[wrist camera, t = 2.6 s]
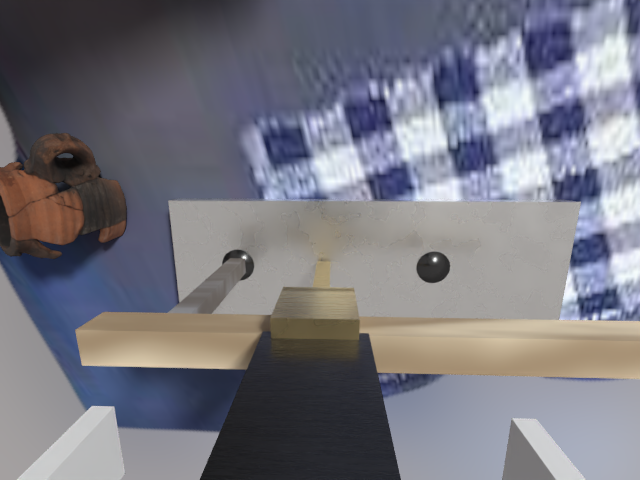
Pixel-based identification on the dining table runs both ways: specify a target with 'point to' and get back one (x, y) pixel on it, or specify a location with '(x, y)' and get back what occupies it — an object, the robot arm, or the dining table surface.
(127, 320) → the bar
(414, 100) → the dining table surface
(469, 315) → the hole plate
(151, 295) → the dining table surface
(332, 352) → the block
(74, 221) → the broken clay pot
